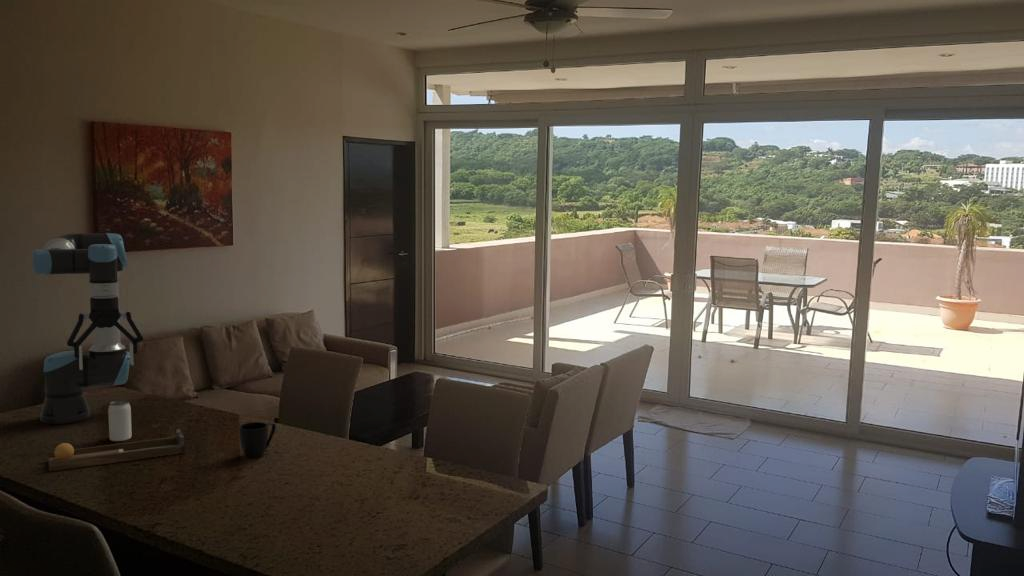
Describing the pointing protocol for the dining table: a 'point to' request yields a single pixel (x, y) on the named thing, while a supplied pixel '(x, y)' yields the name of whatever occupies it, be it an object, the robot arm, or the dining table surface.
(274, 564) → the dining table surface
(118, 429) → the can
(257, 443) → the mug
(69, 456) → the ball
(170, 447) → the lane
